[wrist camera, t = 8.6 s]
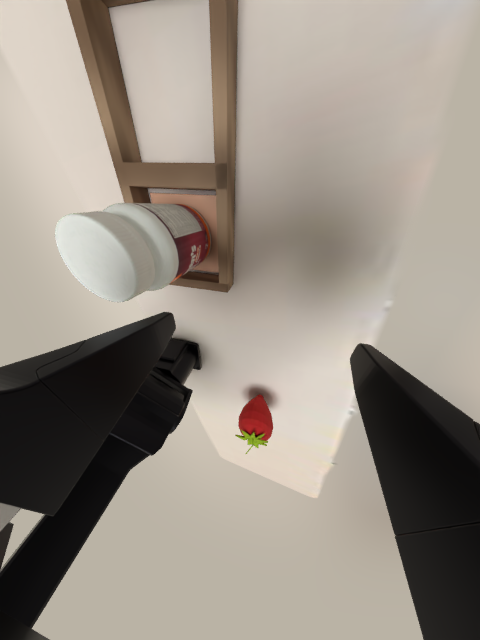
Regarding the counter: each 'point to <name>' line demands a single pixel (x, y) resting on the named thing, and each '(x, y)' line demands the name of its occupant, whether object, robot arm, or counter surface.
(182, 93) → the counter surface
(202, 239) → the pill bottle
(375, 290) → the counter surface
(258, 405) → the strawberry
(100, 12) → the caddy
